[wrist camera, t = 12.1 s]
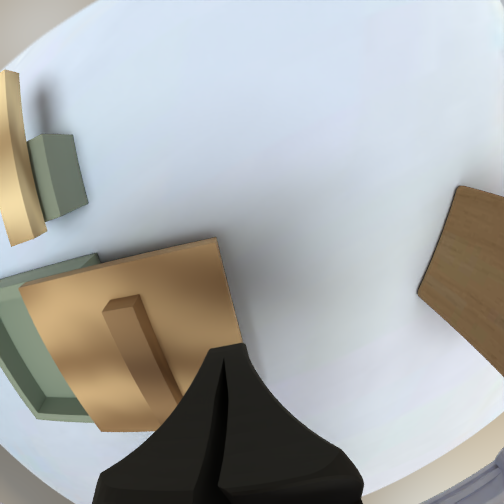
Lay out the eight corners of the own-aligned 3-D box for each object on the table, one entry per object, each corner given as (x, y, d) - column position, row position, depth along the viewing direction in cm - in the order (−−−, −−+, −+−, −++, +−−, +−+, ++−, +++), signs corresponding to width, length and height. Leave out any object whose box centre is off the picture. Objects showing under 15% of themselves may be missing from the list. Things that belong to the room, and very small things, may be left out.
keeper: (88, 203, 19) (60, 216, 15) (45, 218, 19) (15, 233, 15) (72, 134, 17) (42, 133, 13) (30, 154, 17) (-3, 158, 13)
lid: (261, 409, 22) (265, 432, 19) (104, 423, 21) (97, 444, 19) (216, 237, 17) (214, 251, 15) (25, 282, 17) (6, 297, 14)
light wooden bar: (47, 231, 15) (34, 238, 13) (24, 239, 15) (11, 246, 13) (19, 73, 11) (4, 69, 10) (-3, 87, 11) (-18, 85, 10)
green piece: (159, 397, 24) (154, 421, 22) (46, 400, 24) (36, 419, 21) (96, 252, 20) (79, 268, 17) (-17, 284, 20) (-35, 298, 17)
